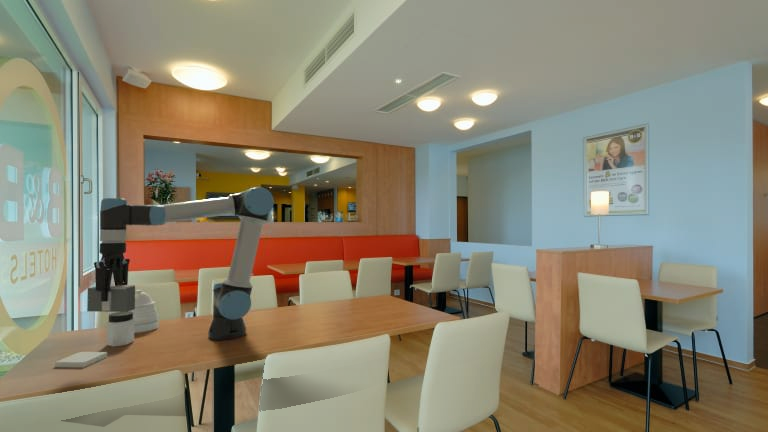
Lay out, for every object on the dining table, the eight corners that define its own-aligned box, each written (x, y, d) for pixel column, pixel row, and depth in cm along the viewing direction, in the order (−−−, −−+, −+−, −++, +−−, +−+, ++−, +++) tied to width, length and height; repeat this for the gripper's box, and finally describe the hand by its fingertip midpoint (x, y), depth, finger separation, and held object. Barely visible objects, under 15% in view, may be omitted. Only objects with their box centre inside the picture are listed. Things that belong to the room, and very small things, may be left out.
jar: (105, 348, 143) (106, 317, 143) (107, 342, 150) (108, 312, 150) (133, 344, 148) (134, 314, 148) (134, 338, 155) (134, 310, 155)
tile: (107, 352, 134) (80, 351, 134) (84, 362, 124) (55, 361, 124) (107, 358, 134) (80, 357, 134) (84, 368, 124) (55, 368, 124)
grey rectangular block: (134, 309, 130) (135, 285, 131) (126, 311, 126) (126, 287, 126) (96, 308, 131) (97, 284, 131) (87, 311, 127) (87, 286, 127)
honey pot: (133, 334, 161) (134, 293, 162) (119, 329, 168) (120, 290, 169) (163, 327, 172) (164, 288, 173) (149, 323, 179) (150, 286, 179)
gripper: (121, 241, 138) (120, 303, 137) (81, 243, 121) (80, 314, 120) (140, 241, 138) (139, 303, 137) (103, 243, 121) (102, 315, 120)
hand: (111, 308), depth 129 cm, fingers closed on grey rectangular block, 4 cm apart
